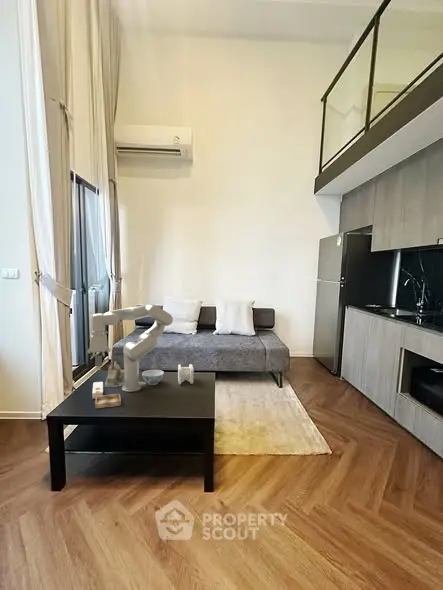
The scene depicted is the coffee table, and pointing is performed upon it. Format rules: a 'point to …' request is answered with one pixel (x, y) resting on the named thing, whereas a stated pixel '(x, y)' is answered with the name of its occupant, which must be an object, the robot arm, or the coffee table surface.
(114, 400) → the tray
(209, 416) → the coffee table surface
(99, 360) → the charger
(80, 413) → the coffee table surface
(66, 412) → the coffee table surface
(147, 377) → the chinaware
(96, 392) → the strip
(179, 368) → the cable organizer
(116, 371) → the ceramic cottage
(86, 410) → the coffee table surface
